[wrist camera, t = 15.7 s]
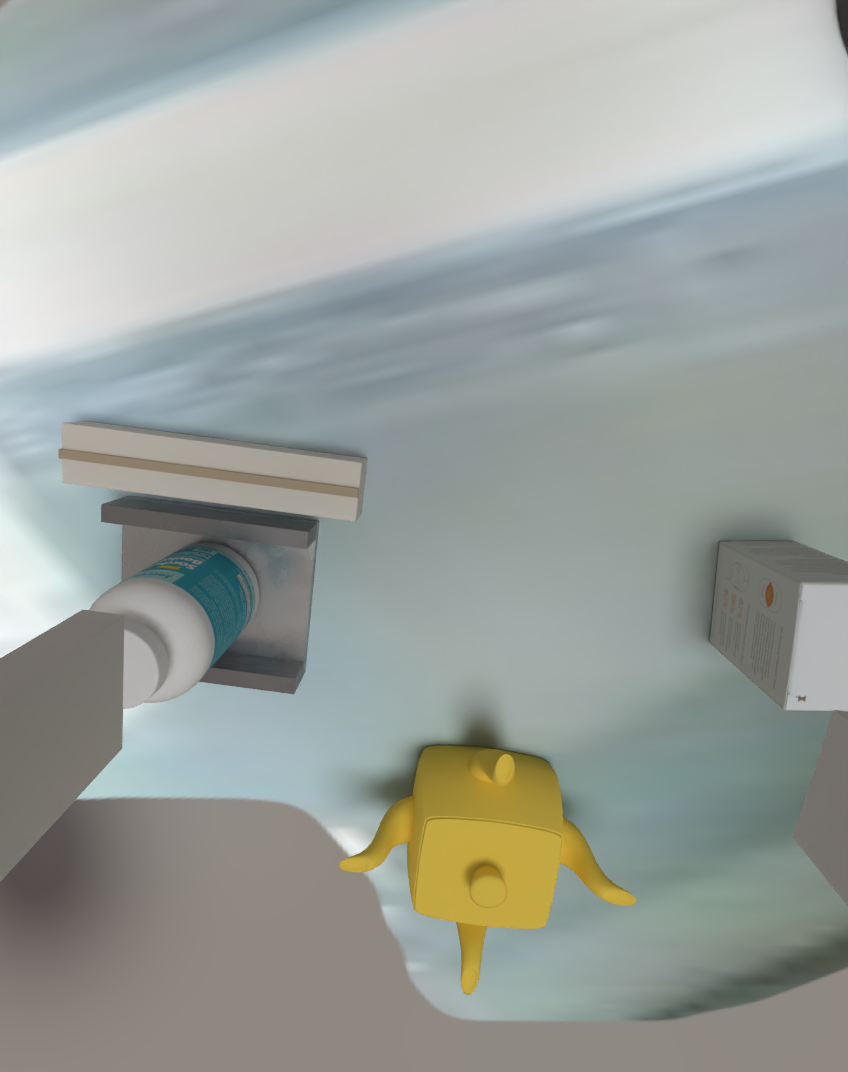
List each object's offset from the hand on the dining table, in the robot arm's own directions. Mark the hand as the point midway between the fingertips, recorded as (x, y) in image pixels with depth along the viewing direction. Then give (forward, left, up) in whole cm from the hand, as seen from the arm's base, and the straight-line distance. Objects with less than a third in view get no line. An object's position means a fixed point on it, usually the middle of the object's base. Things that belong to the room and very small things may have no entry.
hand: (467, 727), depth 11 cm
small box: (+5, +23, -33) cm, 41 cm away
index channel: (+10, -16, -33) cm, 38 cm away
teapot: (+25, +6, -33) cm, 42 cm away
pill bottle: (+10, -16, -32) cm, 37 cm away
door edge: (+1, -16, -33) cm, 36 cm away
